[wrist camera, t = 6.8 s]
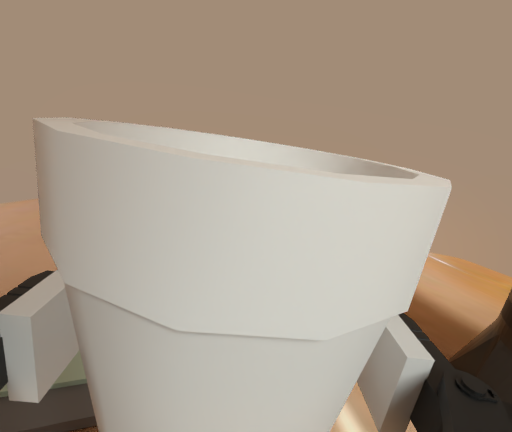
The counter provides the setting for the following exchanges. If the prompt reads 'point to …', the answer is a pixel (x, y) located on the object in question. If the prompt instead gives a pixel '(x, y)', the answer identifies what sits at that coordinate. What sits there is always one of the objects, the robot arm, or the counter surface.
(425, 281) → the counter surface
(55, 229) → the foam cup
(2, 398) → the tile board
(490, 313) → the counter surface
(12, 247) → the counter surface
